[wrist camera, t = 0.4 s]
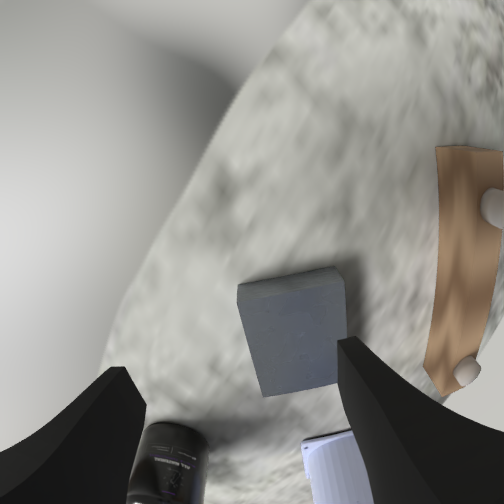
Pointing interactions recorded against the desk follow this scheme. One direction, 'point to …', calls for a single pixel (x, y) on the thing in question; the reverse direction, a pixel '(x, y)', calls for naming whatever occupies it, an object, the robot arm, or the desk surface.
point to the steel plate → (294, 329)
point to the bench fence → (464, 261)
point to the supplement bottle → (169, 466)
